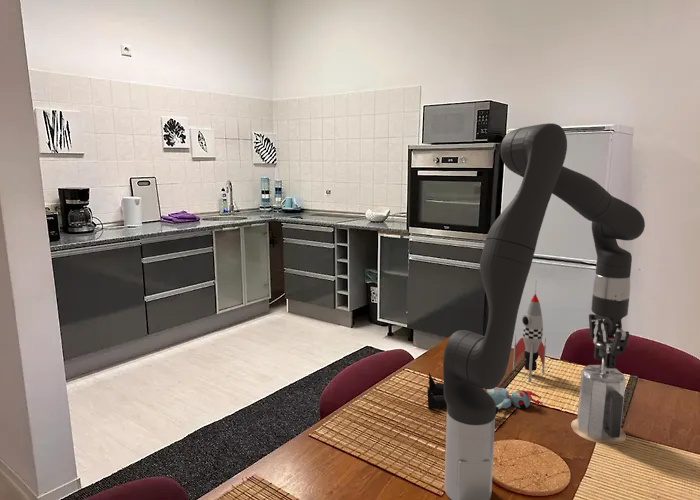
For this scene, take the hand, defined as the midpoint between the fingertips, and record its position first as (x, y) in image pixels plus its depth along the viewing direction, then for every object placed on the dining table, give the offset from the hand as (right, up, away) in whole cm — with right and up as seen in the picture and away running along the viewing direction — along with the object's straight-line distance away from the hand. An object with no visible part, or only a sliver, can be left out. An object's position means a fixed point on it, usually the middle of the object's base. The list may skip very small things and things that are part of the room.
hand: (604, 363), depth 116 cm
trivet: (0, -18, +3) cm, 18 cm away
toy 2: (-4, -12, +36) cm, 38 cm away
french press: (0, -17, +2) cm, 17 cm away
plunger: (0, -13, +3) cm, 13 cm away
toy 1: (-24, -16, +18) cm, 34 cm away
